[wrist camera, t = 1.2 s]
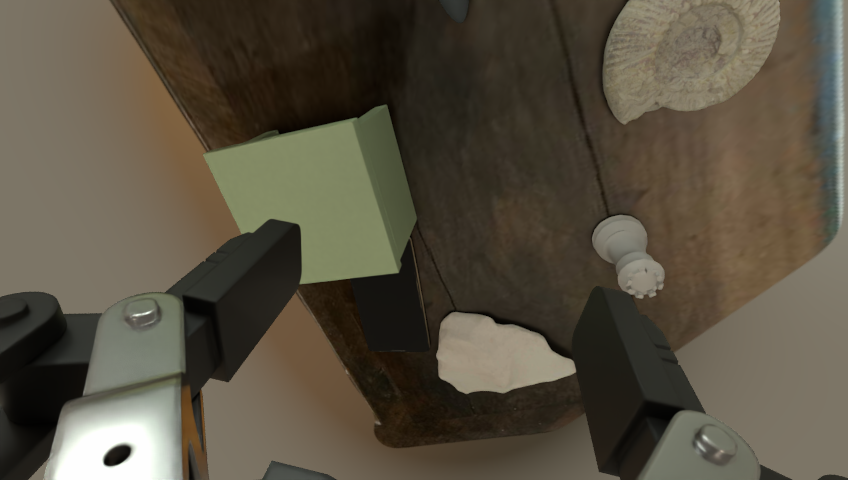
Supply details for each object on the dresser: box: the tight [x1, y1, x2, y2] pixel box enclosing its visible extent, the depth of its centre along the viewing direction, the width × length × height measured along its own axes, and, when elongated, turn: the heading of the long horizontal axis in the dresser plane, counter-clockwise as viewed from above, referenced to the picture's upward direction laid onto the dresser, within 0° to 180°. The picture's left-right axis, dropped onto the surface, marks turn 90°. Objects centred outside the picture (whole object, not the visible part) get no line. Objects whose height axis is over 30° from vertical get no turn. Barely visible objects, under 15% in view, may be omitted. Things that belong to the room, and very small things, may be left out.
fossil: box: [603, 0, 780, 125], centre depth 27 cm, size 11×4×10 cm
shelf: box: [203, 105, 417, 284], centre depth 34 cm, size 12×12×9 cm
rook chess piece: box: [592, 215, 665, 299], centre depth 33 cm, size 4×4×8 cm
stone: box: [436, 312, 576, 394], centre depth 43 cm, size 11×4×15 cm
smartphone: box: [350, 237, 430, 352], centre depth 43 cm, size 7×1×15 cm
